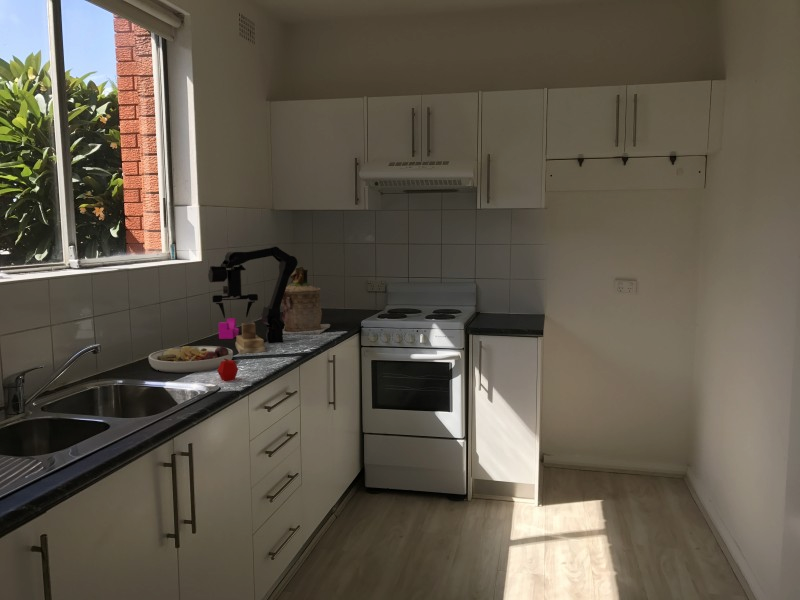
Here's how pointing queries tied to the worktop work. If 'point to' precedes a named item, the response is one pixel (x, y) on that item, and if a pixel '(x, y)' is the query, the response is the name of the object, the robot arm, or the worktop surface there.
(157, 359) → the bowl
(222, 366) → the apple
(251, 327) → the walnut block
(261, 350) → the beech slab
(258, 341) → the oak slab
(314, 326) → the cookie jar
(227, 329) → the toy block
